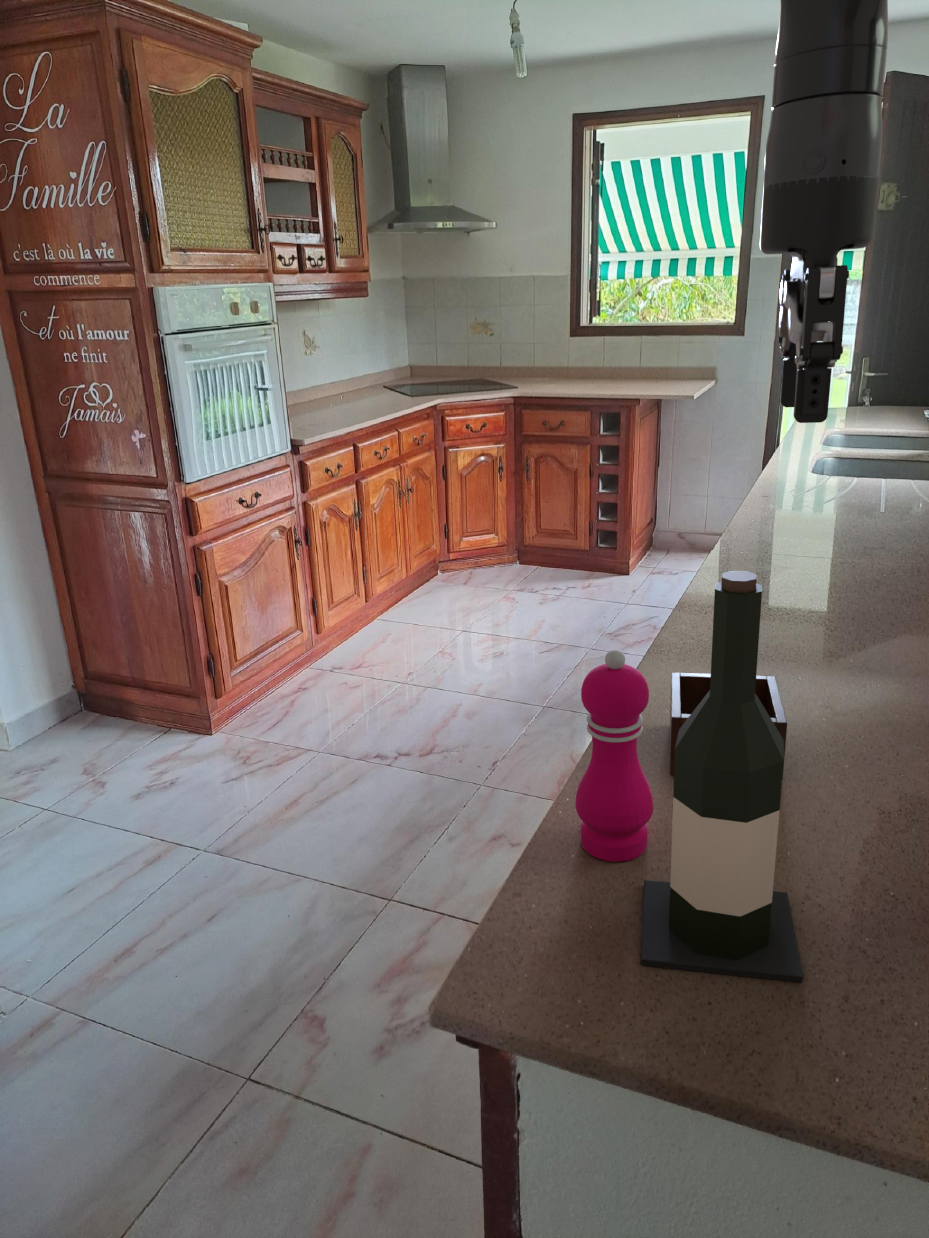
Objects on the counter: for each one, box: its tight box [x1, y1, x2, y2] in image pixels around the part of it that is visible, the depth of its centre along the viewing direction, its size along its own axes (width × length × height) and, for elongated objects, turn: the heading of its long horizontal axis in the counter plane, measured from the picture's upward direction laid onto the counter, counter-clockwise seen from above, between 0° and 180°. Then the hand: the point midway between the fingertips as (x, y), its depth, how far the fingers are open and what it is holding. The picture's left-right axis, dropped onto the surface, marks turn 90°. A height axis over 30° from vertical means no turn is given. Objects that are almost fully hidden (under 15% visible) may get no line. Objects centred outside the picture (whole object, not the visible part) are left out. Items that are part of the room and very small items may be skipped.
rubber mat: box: [640, 879, 804, 983], centre depth 72 cm, size 12×10×1 cm
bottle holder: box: [669, 672, 788, 782], centre depth 98 cm, size 12×12×7 cm
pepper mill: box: [575, 649, 654, 863], centre depth 81 cm, size 7×7×20 cm
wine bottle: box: [669, 570, 785, 960], centre depth 67 cm, size 8×8×30 cm
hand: (801, 413), depth 67 cm, fingers open, 8 cm apart
